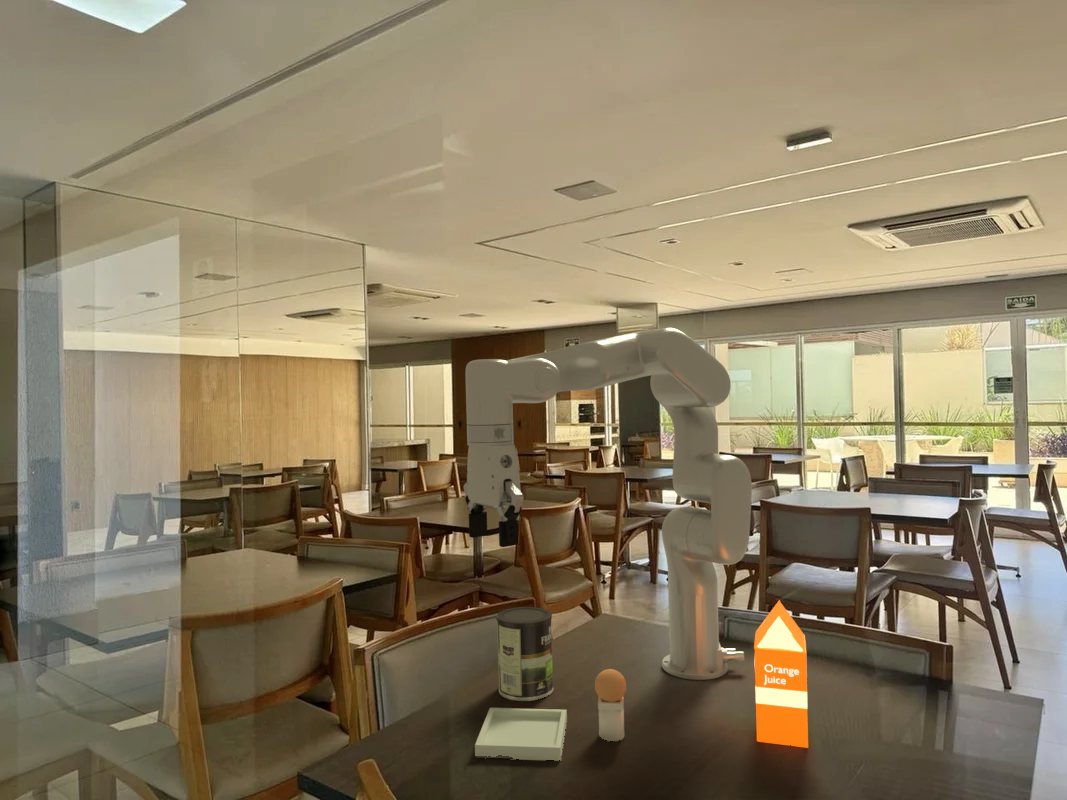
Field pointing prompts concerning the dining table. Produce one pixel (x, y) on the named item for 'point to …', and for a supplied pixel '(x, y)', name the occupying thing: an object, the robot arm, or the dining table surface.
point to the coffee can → (525, 653)
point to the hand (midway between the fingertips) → (493, 540)
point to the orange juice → (781, 680)
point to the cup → (611, 719)
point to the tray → (523, 734)
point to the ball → (610, 685)
